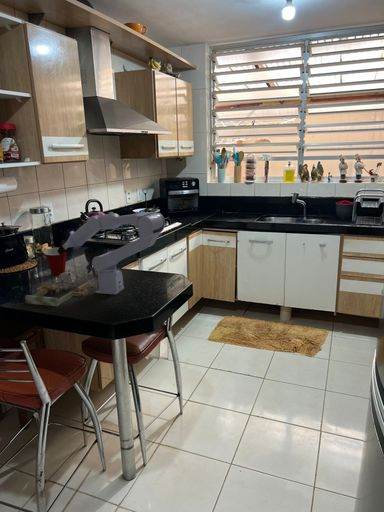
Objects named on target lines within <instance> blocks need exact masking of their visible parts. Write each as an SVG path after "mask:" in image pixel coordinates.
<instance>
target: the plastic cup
mask: <svg viewBox="0 0 384 512" xmlns="http://www.w3.org/2000/svg"><path fill="white" fill-rule="evenodd" d="M58 249H59V247H51V248H46V249H45V250H43V254H44V256H45V259H46V261H47V265H48V267H49V270H50V273H51V276H53V277H59V274H58V272H59V273H64V272H66V265H67V264H66V263H67V254H68V253H64V254H62V255H60V254H59V253H58V252H57V251H58Z"/></svg>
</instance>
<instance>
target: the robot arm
mask: <svg viewBox="0 0 384 512" xmlns="http://www.w3.org/2000/svg"><path fill="white" fill-rule="evenodd" d="M165 223H166V221H165V217H164V216H163V215H162V214H161V212H154V213H153V212H139V213H138V212H137V213H132V214H125V215H119V214H118V213H114V212H113V211H111V212H108V213H106V214H103V213H98V214H97V215H92V216H90V217H88V218H87V220H86V222H84V223H83V224H82V225H81V226H80V227H79V228H78V229H77V230H76V231H74V230H71V231H69V234H70V235H69V237H68V238H67V240H66V239H63V240H61V241H60V245H59V247H58V248H59V249H58V251H57V252H58V253H59V254H60V255H62V254H64V253H67V254H69V253H71V252H73V248H79V247H82V246H83V245H84V244H86V243H87V241H88V240H90V239H91V238H92V237H94V235H96V234H97V233H98V232H99V231H100V230H112V229H118V228H120V226H121V225H133V224H134V227H135V228H136V229H137V231H138V238H137V239H135V240H133V241H131V242H129V243H127V244H125V245H123V246H121V247H118V248H117V249H115V250H113V251H111V250H110V251H108V252H105V253H103V254H100V255H98V256H94V257H93V258H92V260H91V261H92V262H91V265H92V267H93V269H94V270H95V272H96V273H97V279H98V289H97V290H96V291H94V293H95V294H102V295H103V294H104V295H105V294H106V295H117V294H118V293H120V292H121V291H123V290H124V289H125V286H124V278H123V273H122V271H121V270H118V269H117V265H118V263H119V262H120V261H123V260H124V259H127V258H128V257H130V256H133V255H135V254H137V253H140V252H141V251H144V250H145V249H148V248H149V247H152V246H153V245H154V244H155V243H156V241H157V240H158V238H159V237H160V234H161V233H162V232H163V231H164V229H165Z"/></svg>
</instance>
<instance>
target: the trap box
mask: <svg viewBox="0 0 384 512" xmlns="http://www.w3.org/2000/svg"><path fill="white" fill-rule="evenodd" d="M56 283H57V282H55V283H53V284H51V285H41V286H39V287H37V288H35V292H36V293H33V294H32V295H29V294H26V295H24V298H25V304H29V305H40V306H50V307H58V306H60V305H61V304H63V303H65V302H66V301H68V300H70V299H71V298H72V297H84V296H85V295H87V294H89V293H90V292H89V289H88V288H90V283H89V282H85V283H83V284H81V285H79V286H77V287H76V288H77V289H76V290H77V291H73V290H72V291H71V290H70V291H69V292H68V293H66V294H64V295H62V296H60V297H59V298H58V297H52V296H51V297H50V296H44V295H46V294H48V292H49V291H51V290H52V291H54V290H55V289H57V288H59V287H60V286H59V285H58V284H56Z"/></svg>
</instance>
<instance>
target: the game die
mask: <svg viewBox="0 0 384 512" xmlns="http://www.w3.org/2000/svg"><path fill="white" fill-rule="evenodd" d="M58 274H59V276H57V277H58V278H57V282H55V283H56V284H58V285H59V287H60V288H61V289H63V292H64V293H65V292H66V291H67V290H69V289H72V288H74V289H76V286H75V285H76V282H77V278H79V275H77V276H76V275H75V274H74V273H72V272H71V271H70V269H68V271H65V272H64V273H59V272H58Z"/></svg>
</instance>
